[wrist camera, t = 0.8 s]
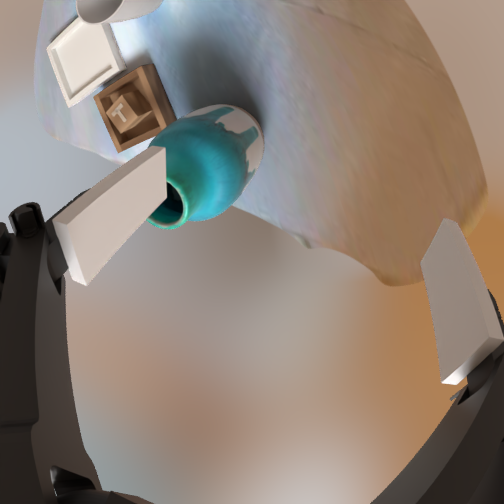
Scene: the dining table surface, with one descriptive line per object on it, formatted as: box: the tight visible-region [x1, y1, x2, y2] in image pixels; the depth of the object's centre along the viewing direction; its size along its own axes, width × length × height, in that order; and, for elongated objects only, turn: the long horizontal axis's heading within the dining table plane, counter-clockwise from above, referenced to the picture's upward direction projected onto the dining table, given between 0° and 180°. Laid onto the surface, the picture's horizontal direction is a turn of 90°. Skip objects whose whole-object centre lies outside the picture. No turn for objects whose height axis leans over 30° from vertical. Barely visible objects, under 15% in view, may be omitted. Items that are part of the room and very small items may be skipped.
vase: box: [146, 104, 264, 229], centre depth 30 cm, size 11×11×19 cm
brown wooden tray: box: [94, 64, 177, 153], centre depth 36 cm, size 10×10×3 cm
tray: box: [46, 17, 127, 108], centre depth 33 cm, size 13×13×2 cm
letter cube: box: [106, 90, 153, 133], centre depth 36 cm, size 4×4×4 cm
